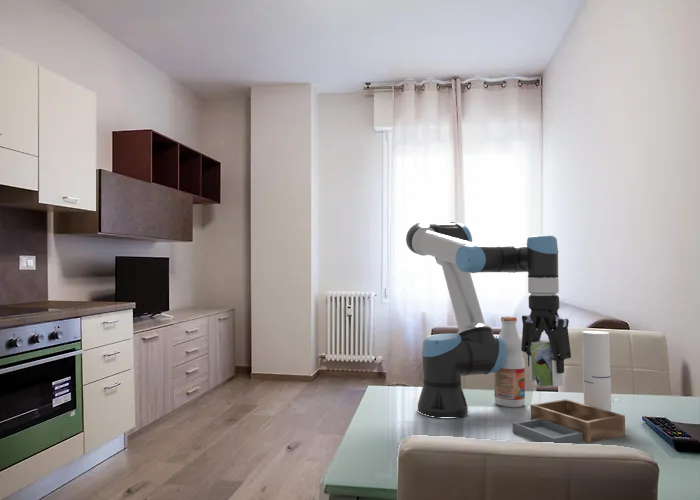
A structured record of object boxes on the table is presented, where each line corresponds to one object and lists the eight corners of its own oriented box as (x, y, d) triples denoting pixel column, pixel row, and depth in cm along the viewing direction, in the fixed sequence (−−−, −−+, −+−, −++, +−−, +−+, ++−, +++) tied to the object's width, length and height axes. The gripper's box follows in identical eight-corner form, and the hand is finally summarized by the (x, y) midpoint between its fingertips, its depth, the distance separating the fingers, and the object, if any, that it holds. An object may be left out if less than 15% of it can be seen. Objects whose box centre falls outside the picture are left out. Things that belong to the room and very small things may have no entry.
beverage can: (563, 390, 127) (562, 342, 127) (533, 388, 128) (531, 341, 129) (558, 384, 133) (557, 339, 133) (529, 383, 134) (528, 338, 135)
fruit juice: (492, 399, 167) (491, 315, 168) (520, 400, 166) (520, 315, 168) (497, 407, 158) (496, 318, 159) (528, 408, 157) (527, 318, 158)
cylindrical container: (610, 423, 140) (608, 334, 141) (582, 420, 144) (580, 332, 145) (612, 417, 147) (610, 331, 148) (585, 413, 150) (583, 330, 151)
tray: (512, 431, 134) (512, 423, 134) (540, 426, 138) (540, 418, 138) (554, 448, 121) (554, 438, 122) (583, 442, 126) (583, 432, 126)
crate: (530, 422, 142) (530, 404, 142) (566, 416, 148) (565, 399, 148) (588, 443, 125) (587, 422, 125) (625, 434, 131) (624, 415, 131)
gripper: (585, 295, 124) (588, 389, 123) (526, 292, 142) (528, 374, 141) (564, 296, 121) (566, 392, 120) (505, 293, 139) (507, 377, 138)
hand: (545, 382), depth 130 cm, fingers closed on beverage can, 7 cm apart
